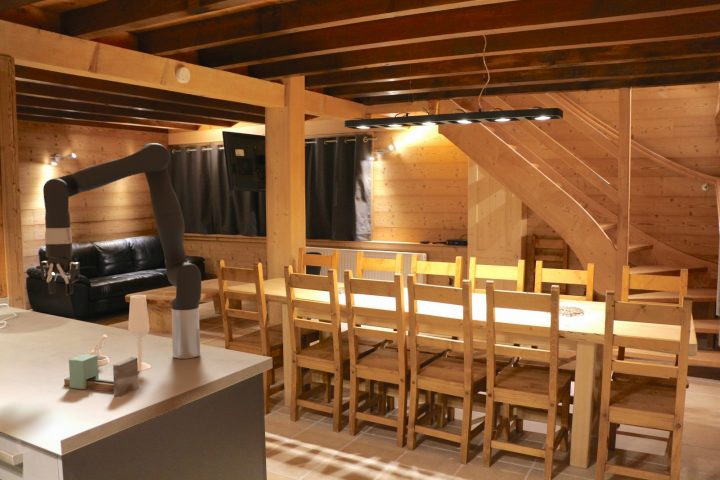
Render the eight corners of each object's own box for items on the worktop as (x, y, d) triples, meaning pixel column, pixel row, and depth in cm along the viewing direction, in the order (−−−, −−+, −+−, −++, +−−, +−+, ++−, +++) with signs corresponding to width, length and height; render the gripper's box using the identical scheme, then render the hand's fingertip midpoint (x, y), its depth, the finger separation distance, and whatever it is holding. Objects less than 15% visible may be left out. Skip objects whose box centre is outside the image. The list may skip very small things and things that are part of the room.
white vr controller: (117, 351, 194) (98, 341, 192) (99, 378, 196) (79, 368, 194) (123, 340, 201) (105, 330, 199) (106, 366, 203) (87, 356, 201)
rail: (57, 388, 173) (56, 358, 172) (78, 379, 181) (77, 351, 180) (120, 396, 167) (118, 365, 166) (138, 387, 174) (137, 357, 174)
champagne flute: (128, 371, 189) (125, 298, 187) (130, 365, 196) (128, 294, 193) (150, 369, 191) (148, 297, 189) (151, 363, 197) (149, 293, 195)
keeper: (69, 387, 173) (68, 359, 172) (85, 380, 179) (84, 353, 178) (83, 389, 172) (82, 361, 171) (98, 382, 177) (97, 355, 177)
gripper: (30, 242, 183) (33, 295, 185) (67, 243, 179) (70, 297, 180) (50, 240, 190) (52, 291, 192) (86, 241, 186) (88, 293, 187)
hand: (61, 294), depth 186 cm, fingers open, 6 cm apart
